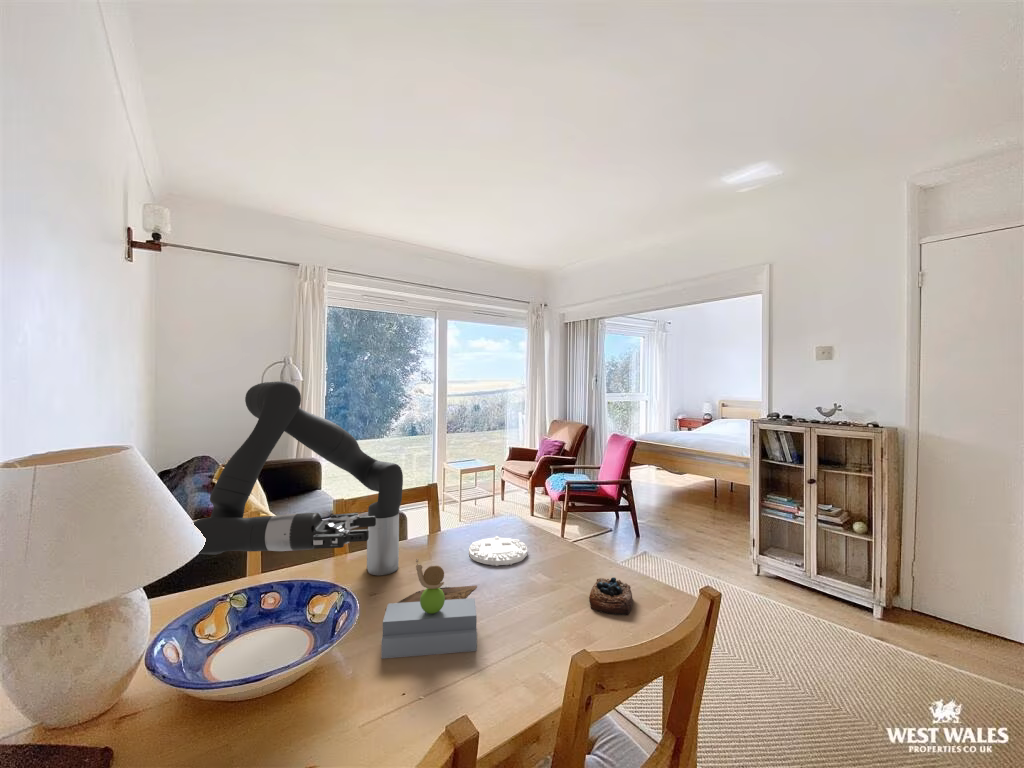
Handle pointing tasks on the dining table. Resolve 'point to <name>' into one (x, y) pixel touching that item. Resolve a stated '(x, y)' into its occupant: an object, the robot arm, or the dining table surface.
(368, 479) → the robot arm
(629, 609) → the pastry
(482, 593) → the dining table surface
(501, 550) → the embossed medallion
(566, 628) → the dining table surface
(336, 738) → the dining table surface
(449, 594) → the wooden fragment
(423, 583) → the snail figurine
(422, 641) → the grey stepped block
